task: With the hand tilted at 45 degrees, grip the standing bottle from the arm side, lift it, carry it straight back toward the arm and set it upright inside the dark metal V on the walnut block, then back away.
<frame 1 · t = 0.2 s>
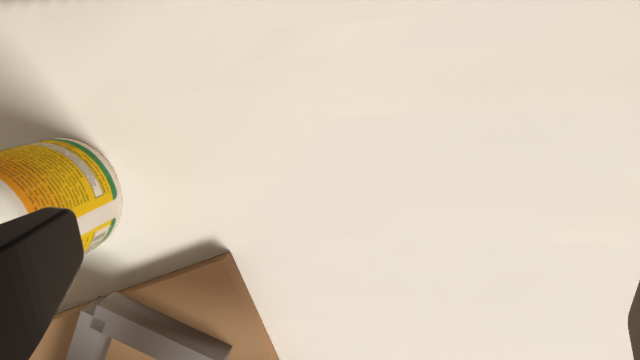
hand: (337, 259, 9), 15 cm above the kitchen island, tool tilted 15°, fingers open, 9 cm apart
supplement bottle: (75, 191, 28), on the kitchen island
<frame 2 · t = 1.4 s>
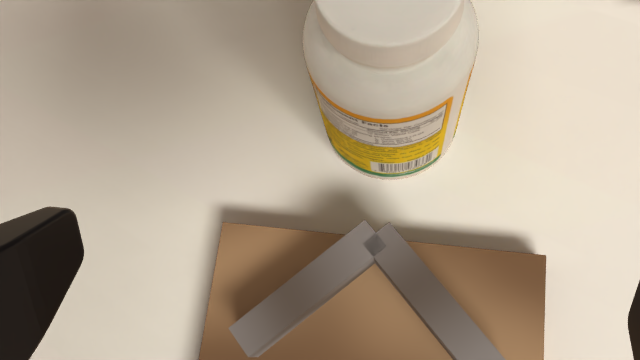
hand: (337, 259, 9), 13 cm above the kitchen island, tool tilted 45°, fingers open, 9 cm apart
supplement bottle: (391, 121, 24), on the kitchen island
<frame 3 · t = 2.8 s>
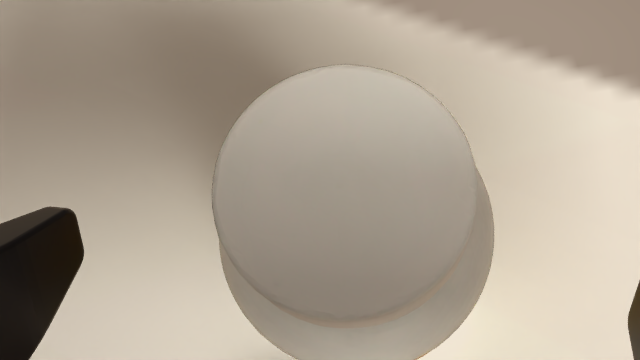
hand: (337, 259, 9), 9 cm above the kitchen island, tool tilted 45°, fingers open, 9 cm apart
supplement bottle: (368, 277, 18), on the kitchen island
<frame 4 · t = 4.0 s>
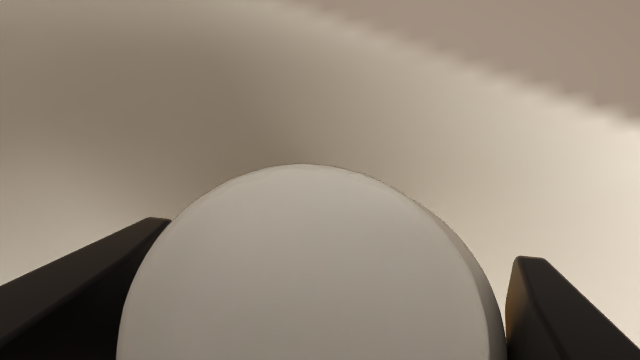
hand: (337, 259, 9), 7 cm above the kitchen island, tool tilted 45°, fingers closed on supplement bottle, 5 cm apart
supplement bottle: (355, 352, 15), on the kitchen island, touching gripper
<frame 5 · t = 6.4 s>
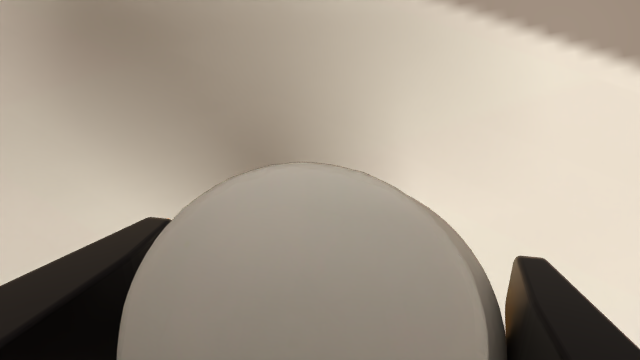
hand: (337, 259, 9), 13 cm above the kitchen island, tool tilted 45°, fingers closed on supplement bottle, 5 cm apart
supplement bottle: (356, 350, 15), point 6 cm above the kitchen island, touching gripper
when the fingers open (8 cm above the kitchen island, at t = 8.7 s): supplement bottle stays where it is, resting on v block.
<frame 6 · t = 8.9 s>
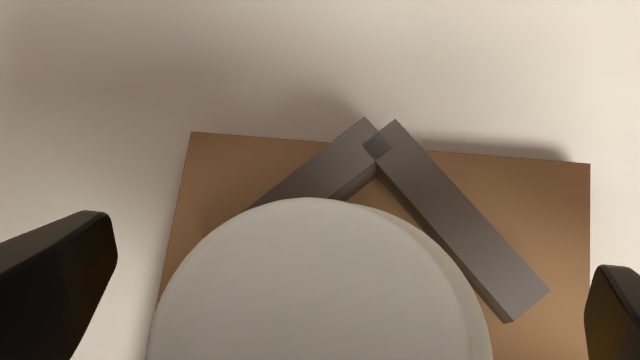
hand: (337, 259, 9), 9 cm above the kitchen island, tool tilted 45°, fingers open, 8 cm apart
supplement bottle: (355, 358, 16), point 1 cm above the kitchen island, touching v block
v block: (360, 352, 17), on the kitchen island
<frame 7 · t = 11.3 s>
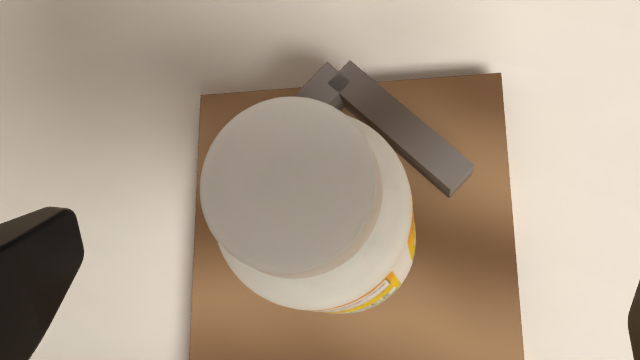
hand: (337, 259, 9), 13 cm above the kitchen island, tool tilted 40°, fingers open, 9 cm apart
supplement bottle: (345, 240, 22), point 1 cm above the kitchen island, touching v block
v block: (350, 238, 23), on the kitchen island
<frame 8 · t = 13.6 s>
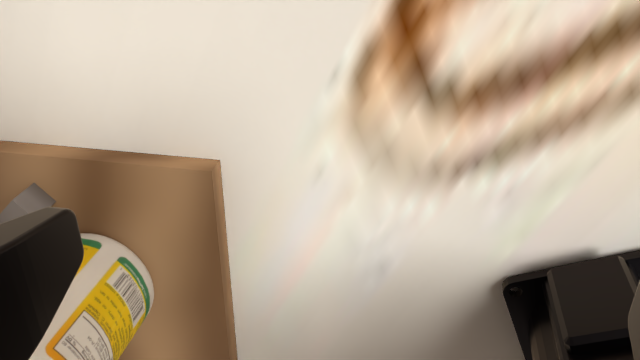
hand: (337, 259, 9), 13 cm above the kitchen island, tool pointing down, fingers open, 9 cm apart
supplement bottle: (104, 274, 27), point 1 cm above the kitchen island, touching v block
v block: (109, 262, 28), on the kitchen island
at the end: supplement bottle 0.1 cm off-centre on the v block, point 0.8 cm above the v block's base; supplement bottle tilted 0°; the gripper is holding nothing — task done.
